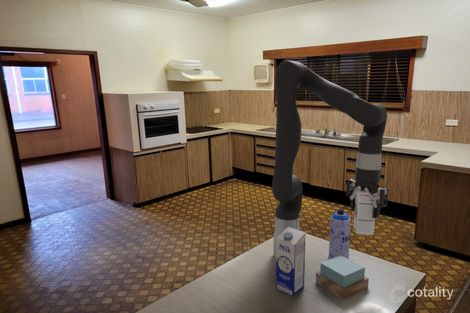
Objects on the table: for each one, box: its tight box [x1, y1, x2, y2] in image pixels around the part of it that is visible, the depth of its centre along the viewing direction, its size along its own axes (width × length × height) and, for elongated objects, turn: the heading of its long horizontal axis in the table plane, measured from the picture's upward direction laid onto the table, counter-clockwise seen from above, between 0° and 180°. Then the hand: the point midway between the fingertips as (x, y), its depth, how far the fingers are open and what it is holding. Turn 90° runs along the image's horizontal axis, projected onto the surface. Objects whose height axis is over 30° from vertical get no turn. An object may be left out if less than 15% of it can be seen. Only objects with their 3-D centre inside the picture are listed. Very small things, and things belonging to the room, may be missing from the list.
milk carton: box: [275, 227, 307, 297], centre depth 109 cm, size 7×7×20 cm
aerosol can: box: [327, 208, 352, 260], centre depth 129 cm, size 8×8×20 cm
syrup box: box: [352, 190, 378, 236], centre depth 110 cm, size 6×6×14 cm
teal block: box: [319, 255, 366, 288], centre depth 111 cm, size 10×10×4 cm
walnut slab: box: [315, 271, 370, 300], centre depth 112 cm, size 12×12×4 cm
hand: (364, 213), depth 110 cm, fingers closed on syrup box, 8 cm apart
